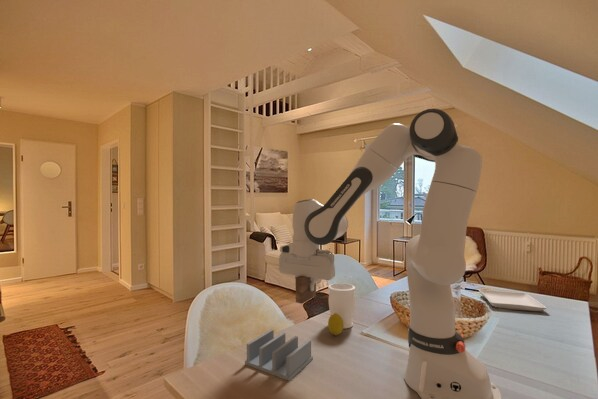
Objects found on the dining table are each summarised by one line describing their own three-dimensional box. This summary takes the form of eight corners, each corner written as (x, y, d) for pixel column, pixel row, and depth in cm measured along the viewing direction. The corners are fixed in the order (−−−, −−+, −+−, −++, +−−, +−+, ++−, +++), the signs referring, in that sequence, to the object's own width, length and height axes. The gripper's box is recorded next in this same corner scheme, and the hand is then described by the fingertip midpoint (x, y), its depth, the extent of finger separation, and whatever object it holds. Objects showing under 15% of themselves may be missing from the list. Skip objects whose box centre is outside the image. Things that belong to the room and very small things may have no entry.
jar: (323, 324, 119) (322, 286, 119) (340, 317, 125) (340, 281, 125) (344, 332, 111) (343, 292, 111) (361, 325, 117) (360, 286, 118)
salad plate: (526, 299, 147) (526, 292, 147) (548, 315, 127) (548, 307, 127) (477, 295, 153) (477, 288, 153) (490, 310, 133) (490, 302, 133)
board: (316, 296, 103) (315, 272, 103) (301, 303, 95) (301, 278, 96) (310, 294, 104) (309, 271, 104) (295, 302, 97) (295, 277, 97)
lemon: (343, 339, 105) (342, 316, 105) (327, 338, 106) (327, 315, 106) (343, 332, 111) (343, 311, 111) (328, 331, 112) (328, 310, 112)
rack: (312, 359, 92) (312, 339, 92) (289, 381, 81) (289, 358, 81) (271, 346, 101) (271, 328, 101) (244, 364, 90) (244, 344, 90)
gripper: (338, 249, 97) (338, 292, 97) (286, 244, 108) (286, 283, 108) (329, 252, 92) (329, 297, 92) (276, 246, 103) (276, 287, 103)
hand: (306, 289), depth 100 cm, fingers closed on board, 2 cm apart
